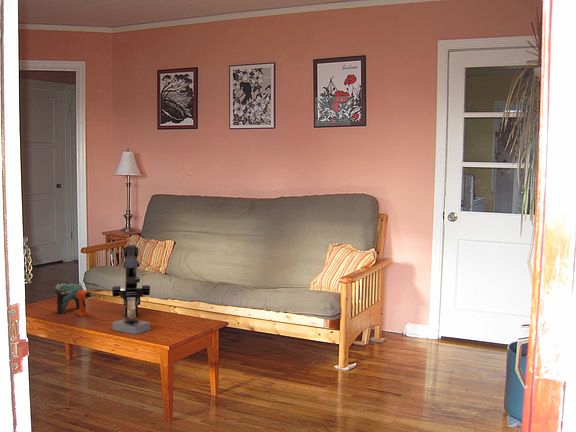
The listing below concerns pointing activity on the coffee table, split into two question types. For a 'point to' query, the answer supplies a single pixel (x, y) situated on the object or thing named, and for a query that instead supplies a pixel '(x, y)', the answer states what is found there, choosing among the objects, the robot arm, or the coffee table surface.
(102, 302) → the coffee table surface
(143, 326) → the socket block
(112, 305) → the coffee table surface
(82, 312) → the toy drill
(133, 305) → the pin
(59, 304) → the green power drill
